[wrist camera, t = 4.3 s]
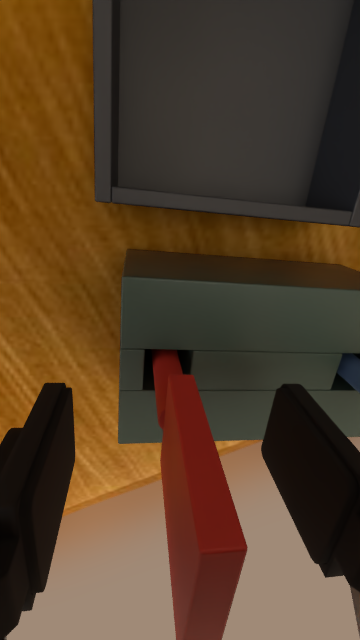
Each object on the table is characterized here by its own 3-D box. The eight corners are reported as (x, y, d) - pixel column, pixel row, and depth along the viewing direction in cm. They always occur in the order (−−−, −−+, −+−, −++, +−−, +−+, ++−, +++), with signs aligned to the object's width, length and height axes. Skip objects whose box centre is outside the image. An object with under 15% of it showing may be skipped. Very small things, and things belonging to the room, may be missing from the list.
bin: (106, 199, 15) (94, 201, 11) (106, -126, 11) (88, -318, 7) (307, 219, 17) (361, 227, 13) (373, -54, 13) (486, -172, 9)
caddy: (123, 373, 19) (118, 444, 14) (126, 248, 16) (121, 276, 11) (306, 374, 21) (365, 437, 16) (340, 264, 18) (426, 294, 13)
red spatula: (146, 343, 19) (168, 668, 6) (150, 288, 17) (187, 554, 5) (165, 344, 19) (226, 658, 6) (170, 289, 17) (261, 547, 5)
